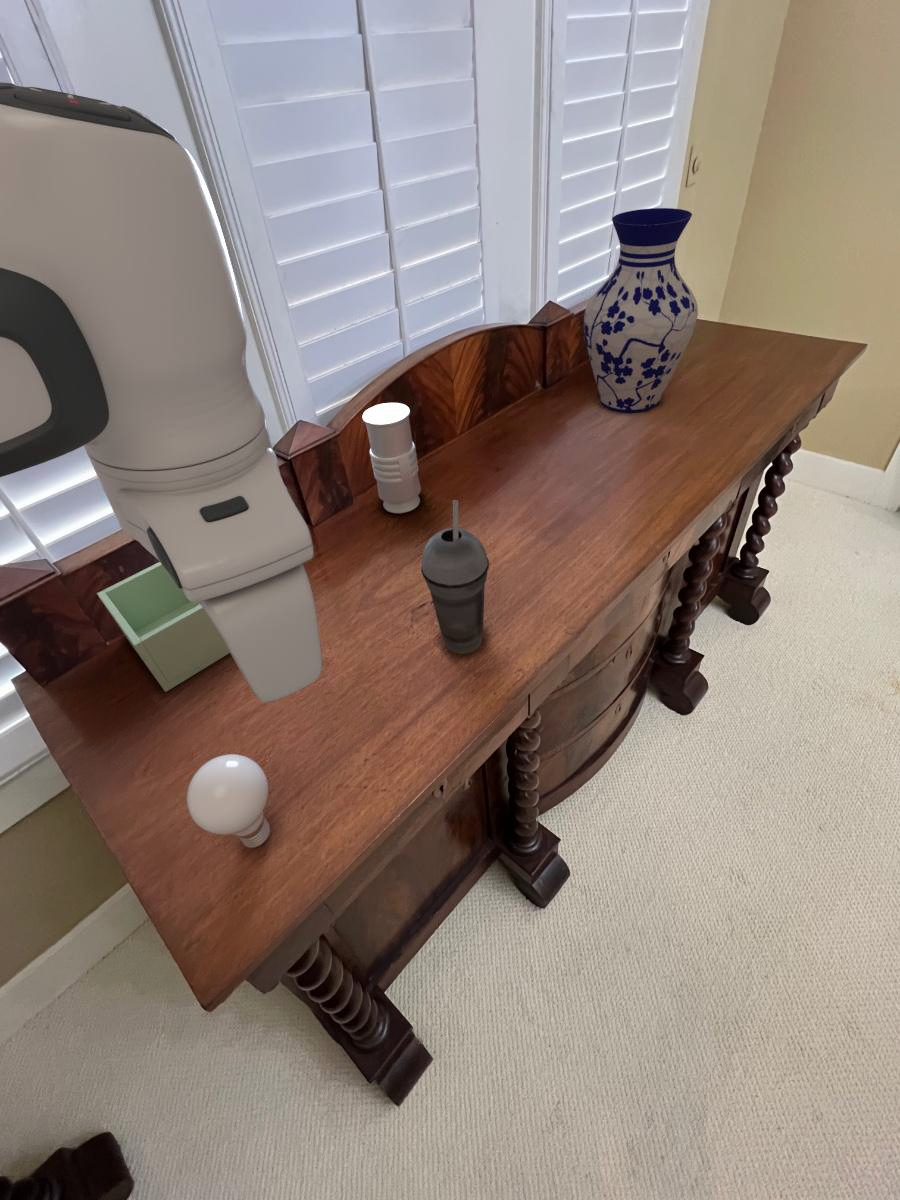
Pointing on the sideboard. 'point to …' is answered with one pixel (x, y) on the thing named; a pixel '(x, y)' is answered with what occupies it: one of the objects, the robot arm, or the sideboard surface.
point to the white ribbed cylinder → (393, 456)
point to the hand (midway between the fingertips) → (250, 647)
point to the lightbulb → (230, 799)
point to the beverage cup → (457, 584)
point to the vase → (640, 312)
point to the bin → (164, 625)
